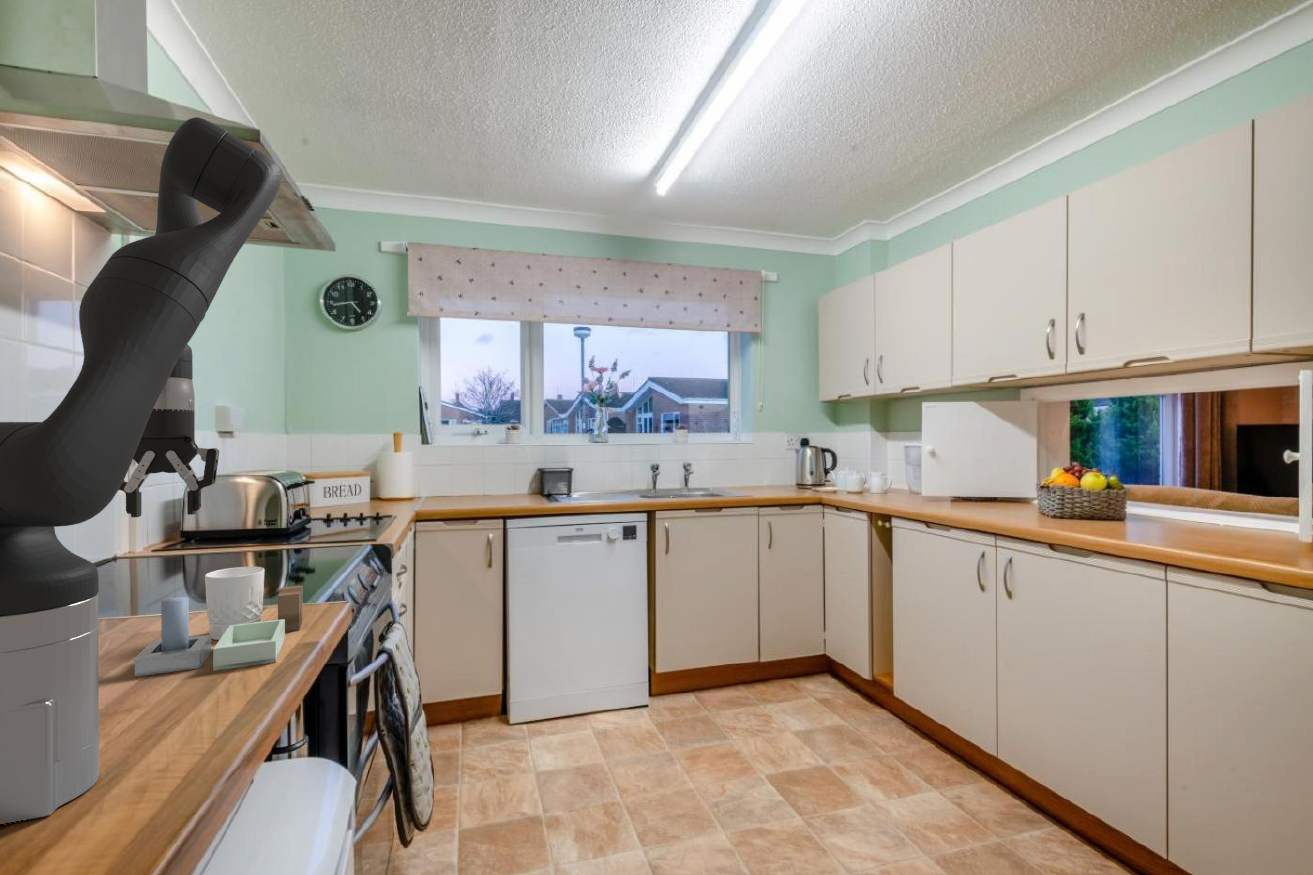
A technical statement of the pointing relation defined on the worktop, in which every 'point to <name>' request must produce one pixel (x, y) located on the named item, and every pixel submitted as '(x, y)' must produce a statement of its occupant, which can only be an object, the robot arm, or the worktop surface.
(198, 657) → the gray tray
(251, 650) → the pale green tray
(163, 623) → the slate-blue dowel
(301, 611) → the walnut block
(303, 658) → the worktop surface
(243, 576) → the white cup
